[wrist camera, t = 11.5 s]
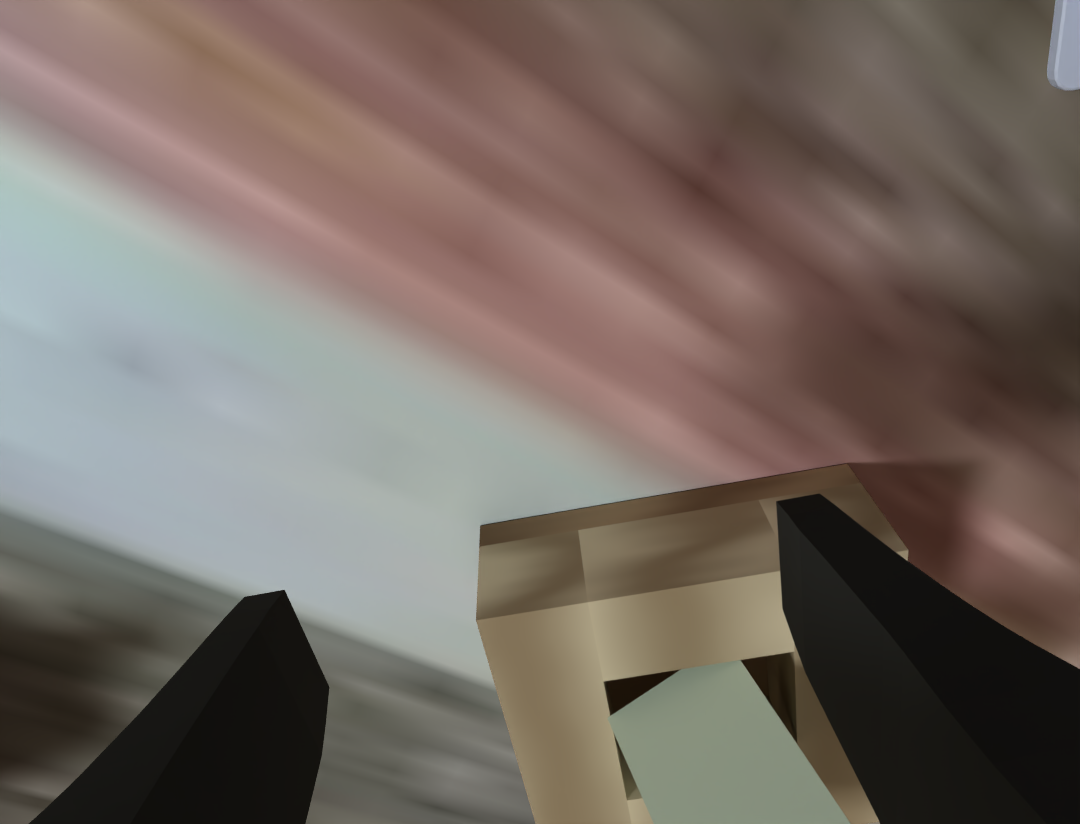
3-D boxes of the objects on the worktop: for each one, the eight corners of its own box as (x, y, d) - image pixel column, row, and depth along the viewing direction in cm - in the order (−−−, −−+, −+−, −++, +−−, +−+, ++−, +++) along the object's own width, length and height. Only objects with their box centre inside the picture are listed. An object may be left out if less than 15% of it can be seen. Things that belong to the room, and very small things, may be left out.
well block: (847, 463, 23) (908, 550, 20) (843, 716, 28) (891, 819, 25) (480, 525, 24) (476, 620, 20) (544, 762, 29) (549, 869, 25)
